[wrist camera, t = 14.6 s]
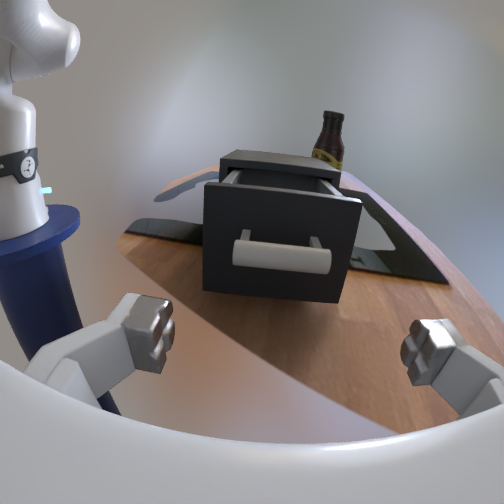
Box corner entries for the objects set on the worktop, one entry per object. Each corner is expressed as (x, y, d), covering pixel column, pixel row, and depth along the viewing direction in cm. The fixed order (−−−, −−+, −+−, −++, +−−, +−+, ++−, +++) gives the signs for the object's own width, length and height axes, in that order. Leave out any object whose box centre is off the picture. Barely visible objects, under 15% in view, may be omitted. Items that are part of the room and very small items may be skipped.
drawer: (349, 337, 19) (384, 221, 15) (189, 323, 19) (187, 199, 15) (316, 242, 35) (327, 174, 31) (226, 232, 35) (230, 163, 31)
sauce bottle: (297, 204, 56) (309, 108, 47) (319, 203, 59) (331, 113, 50) (319, 214, 51) (333, 109, 42) (340, 212, 54) (355, 116, 45)
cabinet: (324, 263, 32) (341, 172, 27) (215, 252, 32) (220, 158, 27) (308, 222, 45) (318, 158, 41) (232, 214, 45) (236, 149, 41)
